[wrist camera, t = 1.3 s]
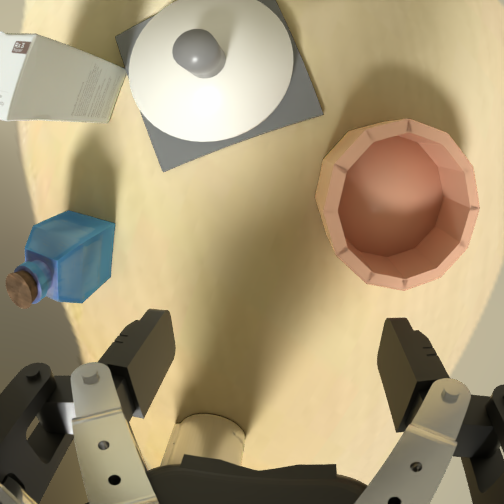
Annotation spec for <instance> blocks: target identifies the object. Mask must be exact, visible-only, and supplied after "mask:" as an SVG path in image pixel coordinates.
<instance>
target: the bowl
mask: <svg viewBox="0 0 504 504" xmlns="http://www.w3.org/2000/svg"><path fill="white" fill-rule="evenodd" d="M315 200H316V203H317V206H318V209H319V212H320V216H321V219H322V222H323V226H324V229H325V232H326V235H327V237H328V239H329V241H330V243H331V246H332V248H333V250H334V252H335V255H336V256H337V257H338V258H339V259H340V260H341V261H342V262H343V263H345V264H346V265H347V266H348V267H349V268H350V269H351V270H352V271H353V272H354V273H355V274H356V275H357V276H359V277H360V278H361V279H362V280H363V281H364V282H365V283H366V284H371V285H376V286H381V287H387V288H392V289H397V290H403V291H405V290H408V289H411V288H413V287H416V286H419V285H422V284H425V283H427V282H430V281H433V280H435V279H438V278H441V277H442V275H443V274H444V273H445V272H446V271H447V270H448V269H449V268H450V267H451V266H452V265H453V264H454V263H455V262H456V260H457V259H458V258H459V257H460V256H461V255H462V254H463V253H464V252H465V250H466V249H467V248H468V245H469V242H470V239H471V236H472V233H473V230H474V226H475V223H476V220H477V216H478V212H479V209H480V207H479V199H478V192H477V186H476V180H475V174H474V169H473V166H472V164H471V163H470V162H469V160H468V159H467V157H466V156H465V155H464V153H463V152H462V151H461V149H460V148H459V147H458V145H457V144H456V143H455V142H454V140H453V139H452V138H451V137H450V135H449V134H448V133H446V132H444V131H441V130H439V129H436V128H434V127H431V126H428V125H426V124H423V123H420V122H417V121H415V120H412V119H409V118H407V119H399V120H392V121H384V122H380V123H376V124H373V125H369V126H365V127H361V128H358V129H354V130H351V131H348V132H347V133H346V134H345V136H344V137H343V138H342V139H341V140H340V141H339V142H338V143H337V144H336V145H335V146H334V148H333V149H332V150H331V151H330V152H329V153H328V154H327V155H326V156H325V157H324V159H323V161H322V166H321V171H320V175H319V180H318V185H317V189H316V194H315Z"/></svg>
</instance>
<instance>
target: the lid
mask: <svg viewBox="0 0 504 504" xmlns="http://www.w3.org/2000/svg"><path fill="white" fill-rule="evenodd" d="M292 70H293V49H292V44H291V40H290V38H289V35H288V32H287V30H286V29H285V27H284V25H283V23H282V22H281V21H280V19H279V18H278V17H277V15H275V14H274V13H273V12H272V11H271V10H270V9H269V8H268V7H267V6H265V5H264V4H262V3H261V2H259V1H257V0H177V1H175V2H173V3H171V4H170V5H168V6H166V7H165V8H163V9H162V10H161V11H160V12H158V13H157V14H156V15H155V16H154V17H153V18H152V19H151V20H150V21H149V22H148V23H147V25H146V26H145V27H144V29H143V30H142V31H141V33H140V35H139V37H138V38H137V40H136V43H135V45H134V47H133V50H132V54H131V57H130V63H129V82H130V88H131V92H132V95H133V98H134V100H135V102H136V104H137V106H138V108H139V109H140V111H141V112H142V114H143V115H144V116H145V117H146V118H147V120H149V121H150V122H151V123H152V124H153V125H154V126H155V127H157V128H158V129H160V130H161V131H163V132H165V133H167V134H169V135H171V136H174V137H177V138H180V139H184V140H189V141H198V142H209V141H220V140H225V139H229V138H233V137H236V136H238V135H241V134H243V133H245V132H248V131H249V130H251V129H253V128H254V127H256V126H257V125H259V124H260V123H261V122H263V121H264V120H265V119H266V118H267V117H268V116H269V115H270V114H271V113H272V112H273V111H274V110H275V109H276V108H277V106H278V105H279V104H280V102H281V100H282V99H283V97H284V95H285V94H286V91H287V89H288V86H289V84H290V80H291V76H292Z"/></svg>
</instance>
